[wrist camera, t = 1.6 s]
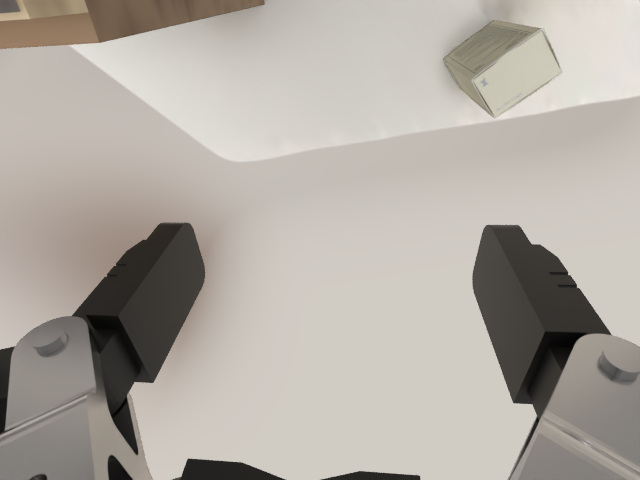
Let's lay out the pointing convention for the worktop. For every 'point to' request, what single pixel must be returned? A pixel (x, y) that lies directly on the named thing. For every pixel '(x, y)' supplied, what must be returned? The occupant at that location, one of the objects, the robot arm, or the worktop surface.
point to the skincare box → (503, 65)
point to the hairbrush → (39, 8)
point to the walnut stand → (112, 21)
